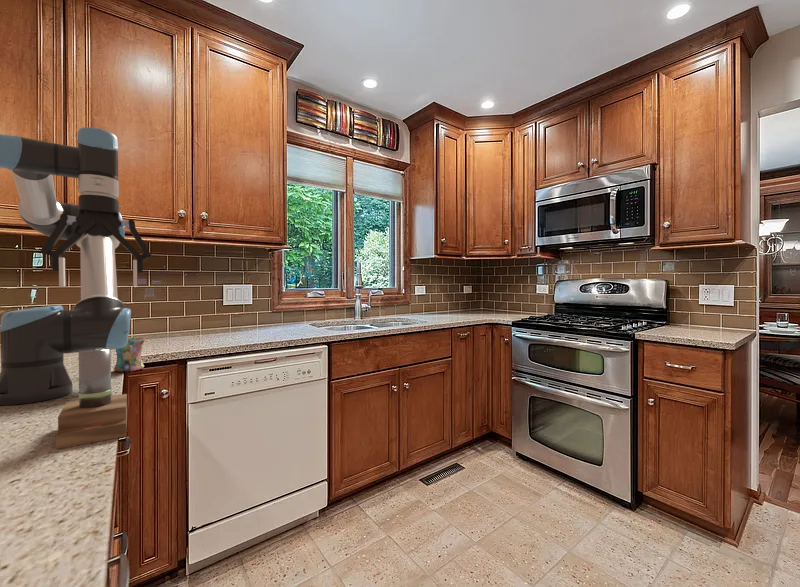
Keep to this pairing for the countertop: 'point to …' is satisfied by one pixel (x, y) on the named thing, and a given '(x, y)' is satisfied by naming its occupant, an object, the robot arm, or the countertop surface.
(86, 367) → the column
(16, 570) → the countertop surface
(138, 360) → the colorful snack bag
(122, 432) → the step block
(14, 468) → the countertop surface
